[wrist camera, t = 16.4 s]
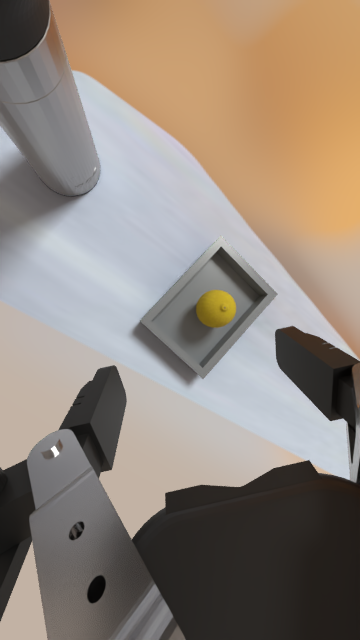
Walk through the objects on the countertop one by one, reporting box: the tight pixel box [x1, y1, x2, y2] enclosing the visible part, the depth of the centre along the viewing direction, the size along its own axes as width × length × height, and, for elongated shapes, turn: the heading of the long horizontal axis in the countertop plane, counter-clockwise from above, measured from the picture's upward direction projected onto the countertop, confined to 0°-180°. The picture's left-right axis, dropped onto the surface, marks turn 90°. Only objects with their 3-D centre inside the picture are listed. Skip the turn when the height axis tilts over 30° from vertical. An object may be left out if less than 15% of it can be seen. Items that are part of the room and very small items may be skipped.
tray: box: [140, 236, 277, 379], centre depth 34 cm, size 13×18×3 cm
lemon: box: [196, 290, 236, 328], centre depth 31 cm, size 6×6×8 cm
